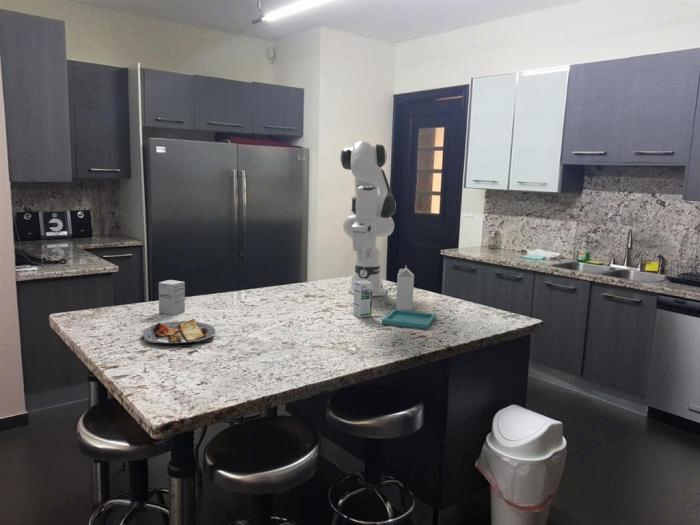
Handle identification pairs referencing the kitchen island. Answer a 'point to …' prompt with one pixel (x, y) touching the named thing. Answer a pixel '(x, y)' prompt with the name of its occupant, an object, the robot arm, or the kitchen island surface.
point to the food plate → (186, 330)
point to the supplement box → (171, 297)
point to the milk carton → (404, 290)
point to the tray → (409, 319)
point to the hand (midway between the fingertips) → (364, 260)
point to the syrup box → (362, 298)
